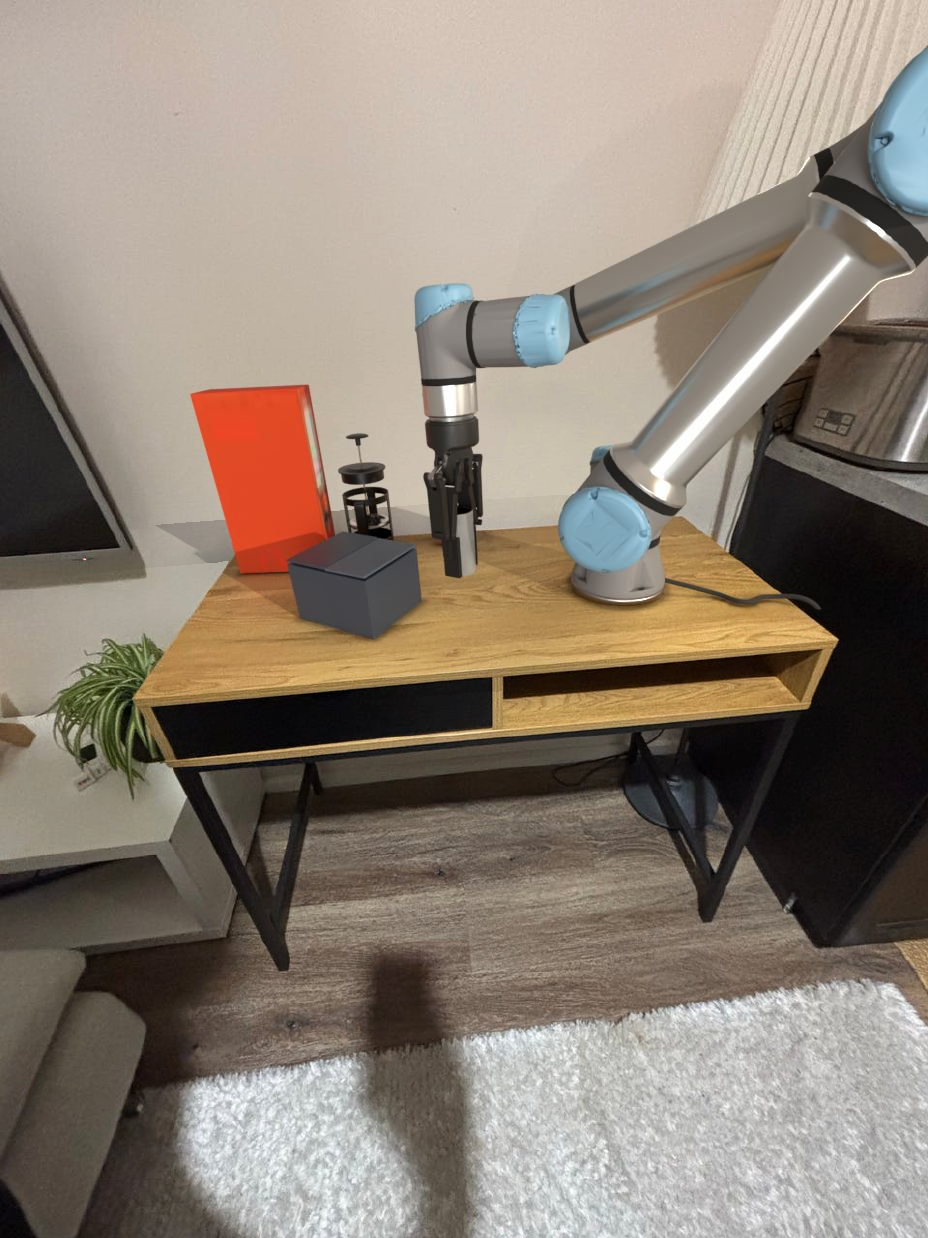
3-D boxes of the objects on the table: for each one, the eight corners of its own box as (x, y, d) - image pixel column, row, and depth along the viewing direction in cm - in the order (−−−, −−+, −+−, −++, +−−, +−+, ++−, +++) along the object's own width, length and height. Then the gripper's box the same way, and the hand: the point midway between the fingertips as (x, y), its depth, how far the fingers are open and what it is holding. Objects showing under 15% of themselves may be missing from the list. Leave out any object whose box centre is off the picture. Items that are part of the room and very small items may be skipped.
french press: (357, 540, 111) (339, 429, 100) (399, 539, 111) (387, 427, 99) (343, 563, 101) (322, 442, 90) (390, 562, 101) (375, 440, 89)
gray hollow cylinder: (473, 577, 81) (469, 514, 76) (445, 576, 82) (439, 514, 77) (478, 565, 85) (475, 504, 80) (451, 565, 86) (446, 504, 80)
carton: (421, 601, 86) (416, 543, 81) (374, 639, 76) (364, 576, 71) (352, 585, 92) (342, 531, 87) (299, 618, 83) (285, 559, 78)
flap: (415, 546, 81) (415, 543, 81) (364, 579, 71) (363, 576, 71) (378, 540, 84) (378, 537, 84) (324, 570, 74) (324, 568, 74)
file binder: (255, 557, 106) (210, 388, 90) (339, 554, 105) (308, 383, 89) (240, 574, 99) (188, 393, 83) (330, 571, 98) (295, 388, 82)
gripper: (458, 406, 80) (467, 547, 91) (392, 427, 67) (412, 588, 78) (502, 407, 76) (506, 553, 88) (441, 428, 63) (454, 597, 75)
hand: (461, 569), depth 83 cm, fingers closed on gray hollow cylinder, 5 cm apart
